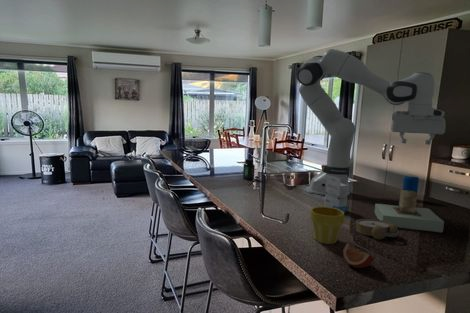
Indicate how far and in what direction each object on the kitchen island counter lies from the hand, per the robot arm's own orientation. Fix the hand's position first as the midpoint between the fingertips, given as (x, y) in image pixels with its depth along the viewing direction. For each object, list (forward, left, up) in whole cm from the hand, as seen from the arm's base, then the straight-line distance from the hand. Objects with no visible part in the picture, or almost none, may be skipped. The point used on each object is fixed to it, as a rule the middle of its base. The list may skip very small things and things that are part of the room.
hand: (415, 143), depth 134 cm
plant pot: (-37, -49, -29) cm, 68 cm away
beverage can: (+5, +18, -29) cm, 35 cm away
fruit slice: (-29, -64, -29) cm, 76 cm away
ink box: (-32, -14, -29) cm, 46 cm away
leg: (-6, -20, -29) cm, 36 cm away
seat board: (-6, -20, -29) cm, 36 cm away
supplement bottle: (-80, +33, -29) cm, 91 cm away
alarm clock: (-20, -37, -30) cm, 51 cm away
